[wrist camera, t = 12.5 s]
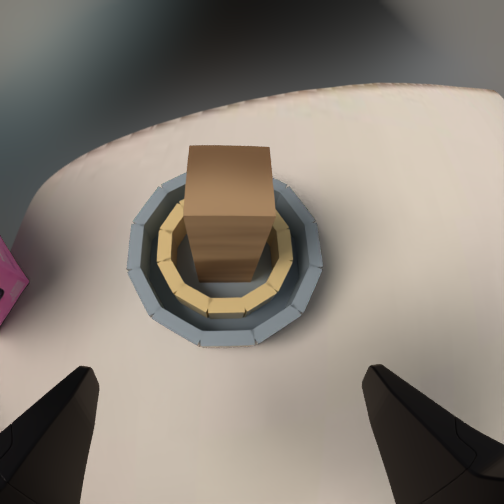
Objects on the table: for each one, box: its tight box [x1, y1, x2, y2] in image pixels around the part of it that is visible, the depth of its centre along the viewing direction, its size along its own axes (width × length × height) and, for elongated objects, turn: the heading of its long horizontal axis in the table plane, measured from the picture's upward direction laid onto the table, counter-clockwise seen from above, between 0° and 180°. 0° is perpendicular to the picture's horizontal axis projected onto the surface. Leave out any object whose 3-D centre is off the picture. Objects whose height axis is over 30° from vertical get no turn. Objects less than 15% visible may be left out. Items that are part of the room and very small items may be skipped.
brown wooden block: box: [183, 145, 276, 283], centre depth 18 cm, size 4×4×11 cm
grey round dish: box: [127, 172, 323, 348], centre depth 22 cm, size 14×14×4 cm
